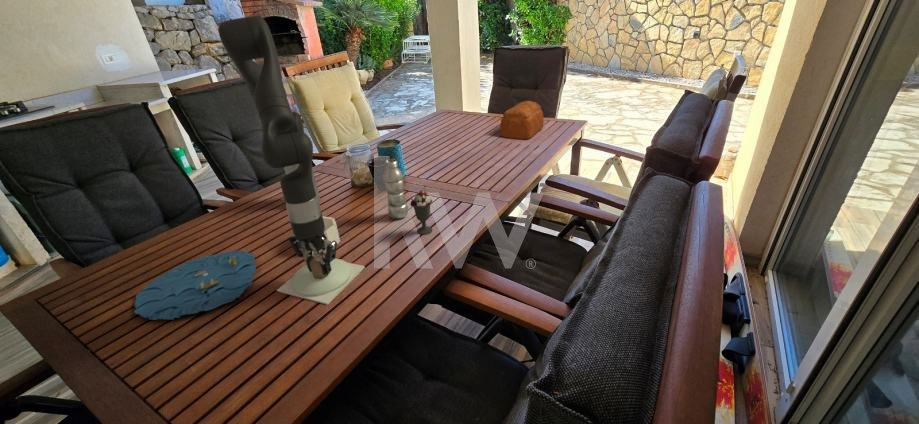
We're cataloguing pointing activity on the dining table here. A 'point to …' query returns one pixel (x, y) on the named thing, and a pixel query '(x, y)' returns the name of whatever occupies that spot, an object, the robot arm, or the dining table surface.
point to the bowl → (330, 230)
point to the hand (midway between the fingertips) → (320, 271)
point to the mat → (323, 298)
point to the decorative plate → (197, 286)
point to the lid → (320, 278)
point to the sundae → (422, 211)
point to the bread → (522, 121)
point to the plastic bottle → (395, 190)
